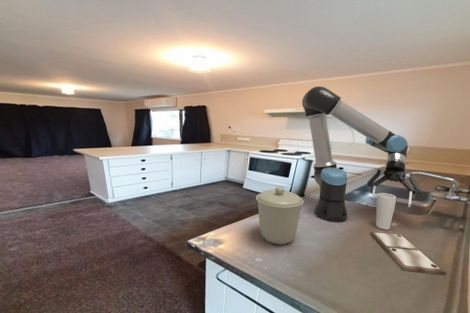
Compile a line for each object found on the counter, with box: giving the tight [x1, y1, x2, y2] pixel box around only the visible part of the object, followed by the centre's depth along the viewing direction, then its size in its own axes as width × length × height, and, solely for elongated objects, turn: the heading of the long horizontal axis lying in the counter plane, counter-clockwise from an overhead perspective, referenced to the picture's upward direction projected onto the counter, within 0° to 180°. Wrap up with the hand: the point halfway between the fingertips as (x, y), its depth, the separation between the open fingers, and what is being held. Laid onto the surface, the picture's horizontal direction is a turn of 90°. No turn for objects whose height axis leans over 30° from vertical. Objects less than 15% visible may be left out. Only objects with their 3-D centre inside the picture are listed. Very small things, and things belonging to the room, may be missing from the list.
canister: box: [255, 186, 304, 245], centre depth 86 cm, size 18×18×21 cm
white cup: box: [375, 192, 397, 231], centre depth 96 cm, size 7×7×15 cm
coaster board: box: [369, 231, 447, 275], centre depth 79 cm, size 12×23×2 cm, turn 171°
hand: (390, 202), depth 98 cm, fingers open, 13 cm apart
